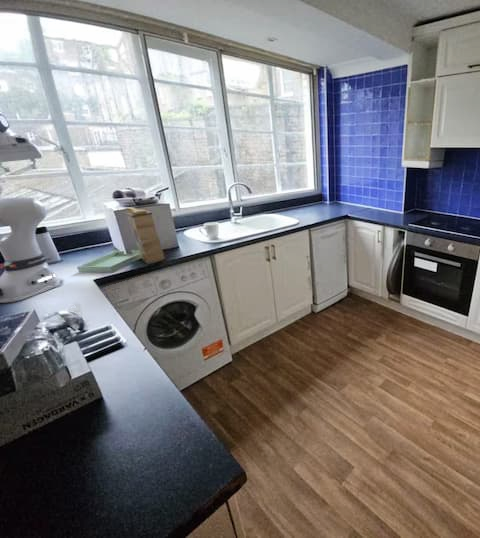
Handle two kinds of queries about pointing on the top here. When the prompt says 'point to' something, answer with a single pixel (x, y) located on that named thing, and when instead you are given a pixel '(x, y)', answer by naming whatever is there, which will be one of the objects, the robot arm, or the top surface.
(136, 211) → the key
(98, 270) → the tray
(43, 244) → the travel mug
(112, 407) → the top surface
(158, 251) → the key stand
